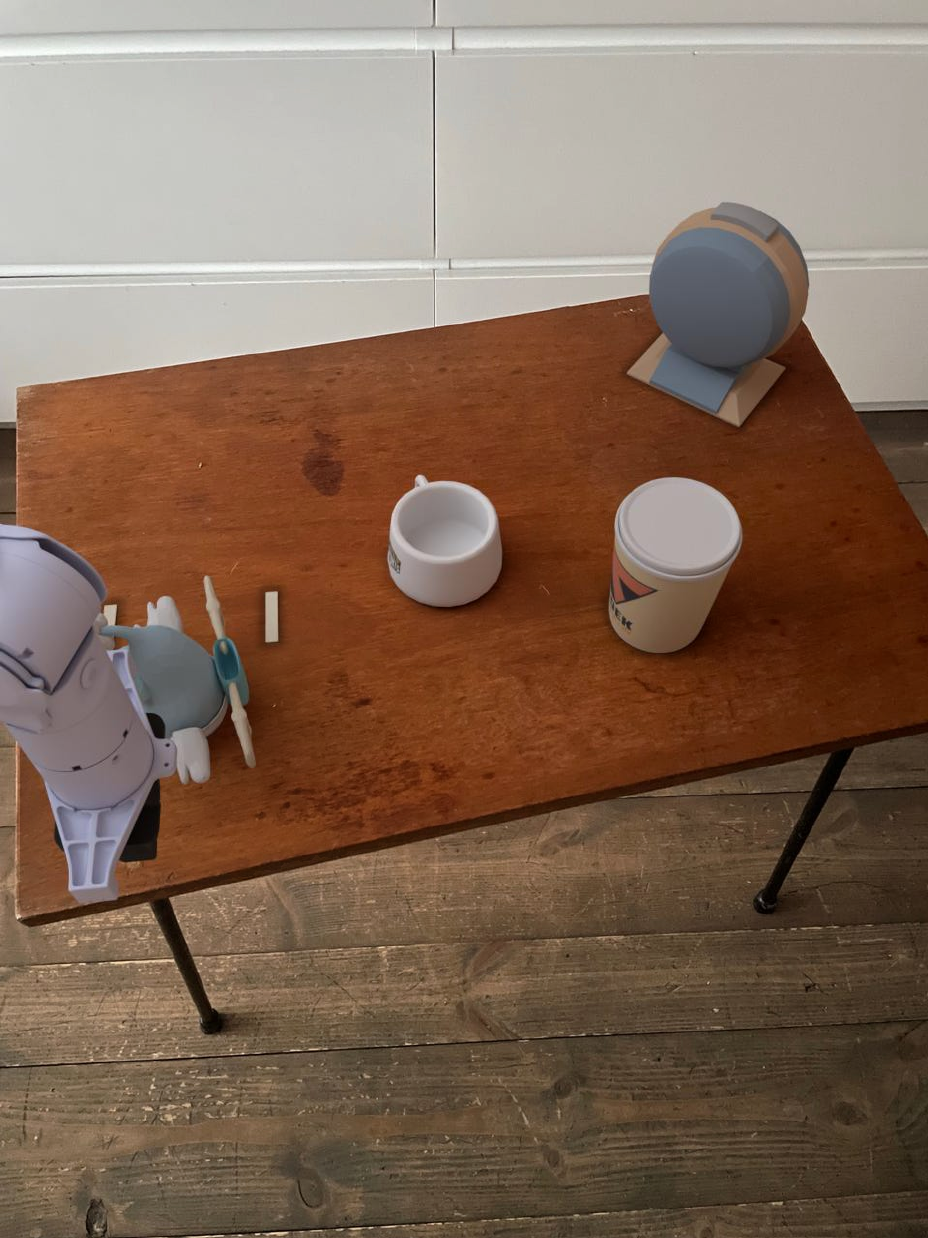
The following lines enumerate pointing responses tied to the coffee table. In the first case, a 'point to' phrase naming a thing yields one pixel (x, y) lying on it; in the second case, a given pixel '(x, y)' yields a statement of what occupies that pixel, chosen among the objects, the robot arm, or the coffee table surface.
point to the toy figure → (186, 680)
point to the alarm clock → (723, 309)
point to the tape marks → (270, 616)
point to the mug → (444, 543)
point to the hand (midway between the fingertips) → (141, 829)
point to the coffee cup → (670, 561)
